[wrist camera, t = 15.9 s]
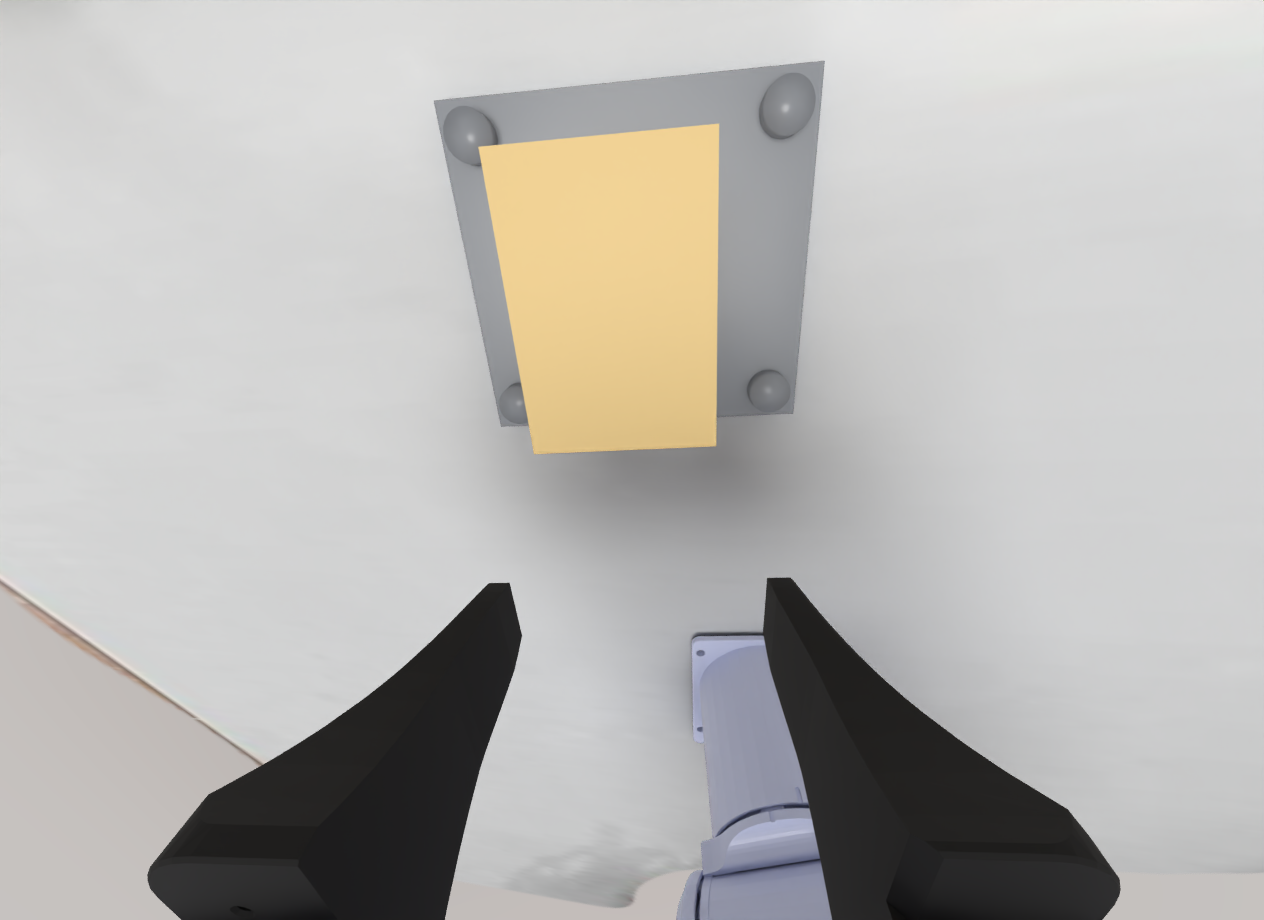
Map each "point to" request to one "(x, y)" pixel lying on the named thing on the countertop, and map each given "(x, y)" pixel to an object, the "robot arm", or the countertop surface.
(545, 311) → the ochre brick
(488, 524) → the countertop surface
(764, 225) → the baseplate
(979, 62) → the countertop surface
